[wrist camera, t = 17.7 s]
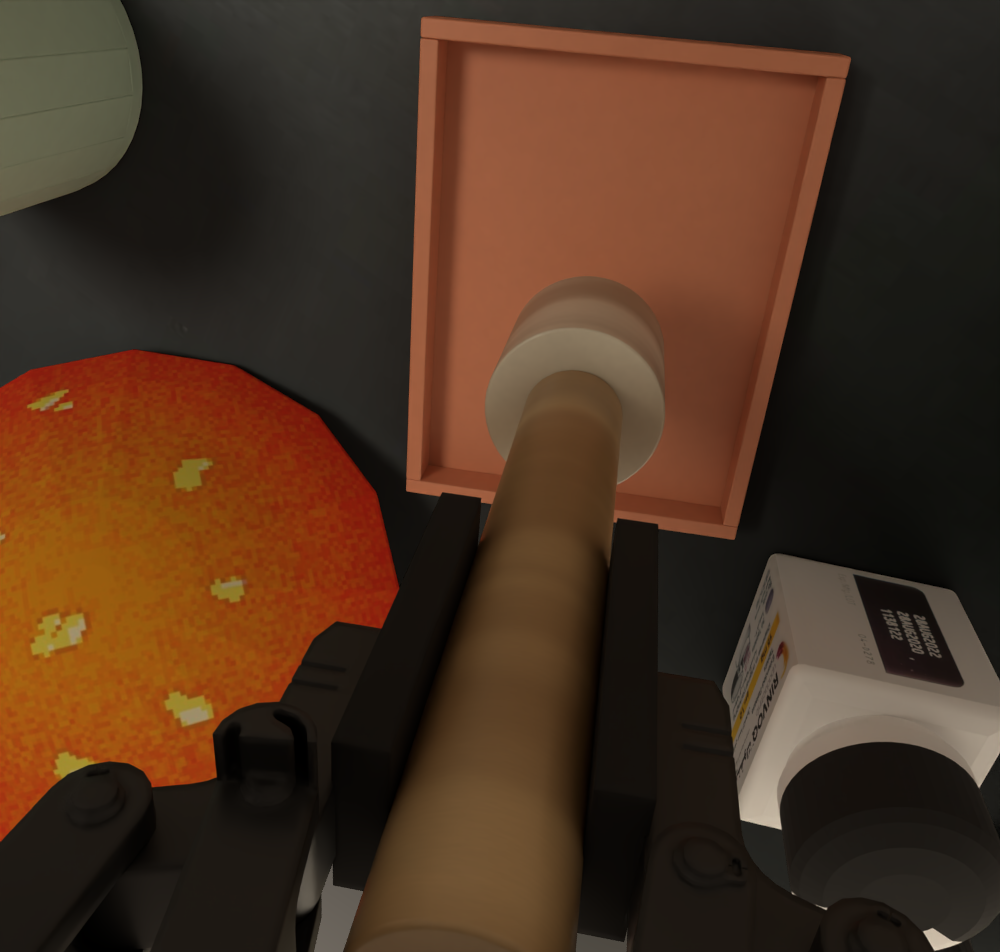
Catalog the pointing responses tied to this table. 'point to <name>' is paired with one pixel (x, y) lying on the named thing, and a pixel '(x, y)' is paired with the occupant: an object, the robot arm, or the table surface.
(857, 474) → the table surface
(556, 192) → the tray
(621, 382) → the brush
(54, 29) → the jar
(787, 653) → the container
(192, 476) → the decorative mushroom
